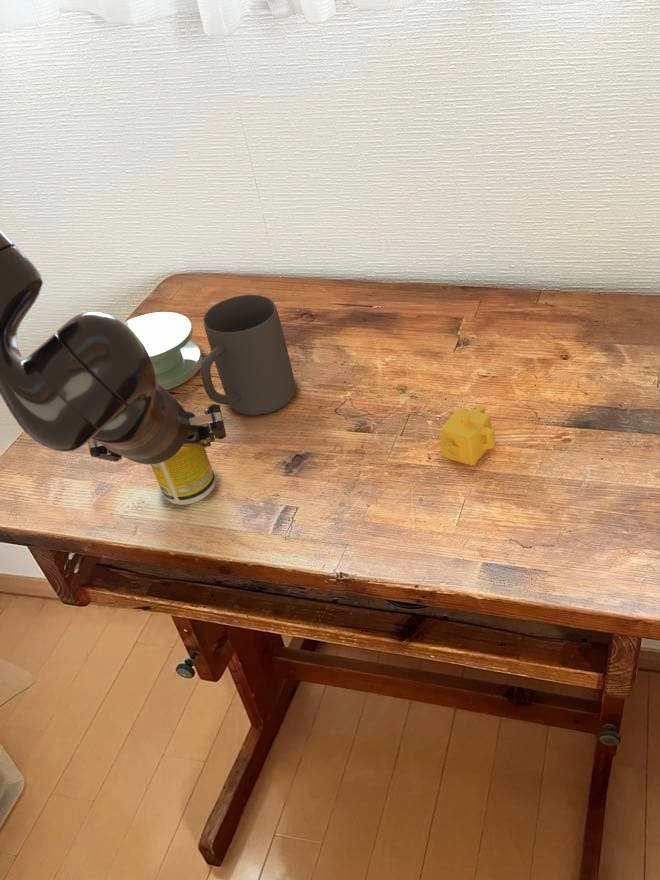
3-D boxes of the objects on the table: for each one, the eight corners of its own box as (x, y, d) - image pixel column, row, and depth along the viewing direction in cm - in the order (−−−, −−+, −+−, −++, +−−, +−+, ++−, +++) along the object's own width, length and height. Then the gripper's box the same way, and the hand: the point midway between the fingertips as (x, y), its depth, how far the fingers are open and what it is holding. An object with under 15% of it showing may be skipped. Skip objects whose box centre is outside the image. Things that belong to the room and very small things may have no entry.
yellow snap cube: (476, 483, 91) (474, 446, 88) (432, 469, 94) (427, 433, 90) (510, 442, 96) (509, 405, 92) (466, 429, 99) (463, 393, 95)
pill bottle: (224, 473, 98) (198, 395, 90) (204, 508, 94) (174, 430, 86) (177, 469, 99) (147, 392, 92) (154, 504, 95) (121, 427, 87)
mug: (253, 370, 113) (231, 289, 105) (310, 382, 109) (291, 299, 101) (192, 428, 105) (162, 346, 97) (251, 443, 101) (225, 359, 93)
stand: (164, 400, 110) (151, 366, 106) (99, 383, 115) (84, 350, 111) (219, 353, 117) (209, 319, 114) (155, 339, 122) (143, 306, 118)
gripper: (205, 364, 78) (231, 398, 94) (51, 395, 77) (105, 425, 94) (223, 442, 78) (246, 463, 94) (69, 474, 77) (120, 490, 93)
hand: (176, 444), depth 94 cm, fingers closed on pill bottle, 6 cm apart
